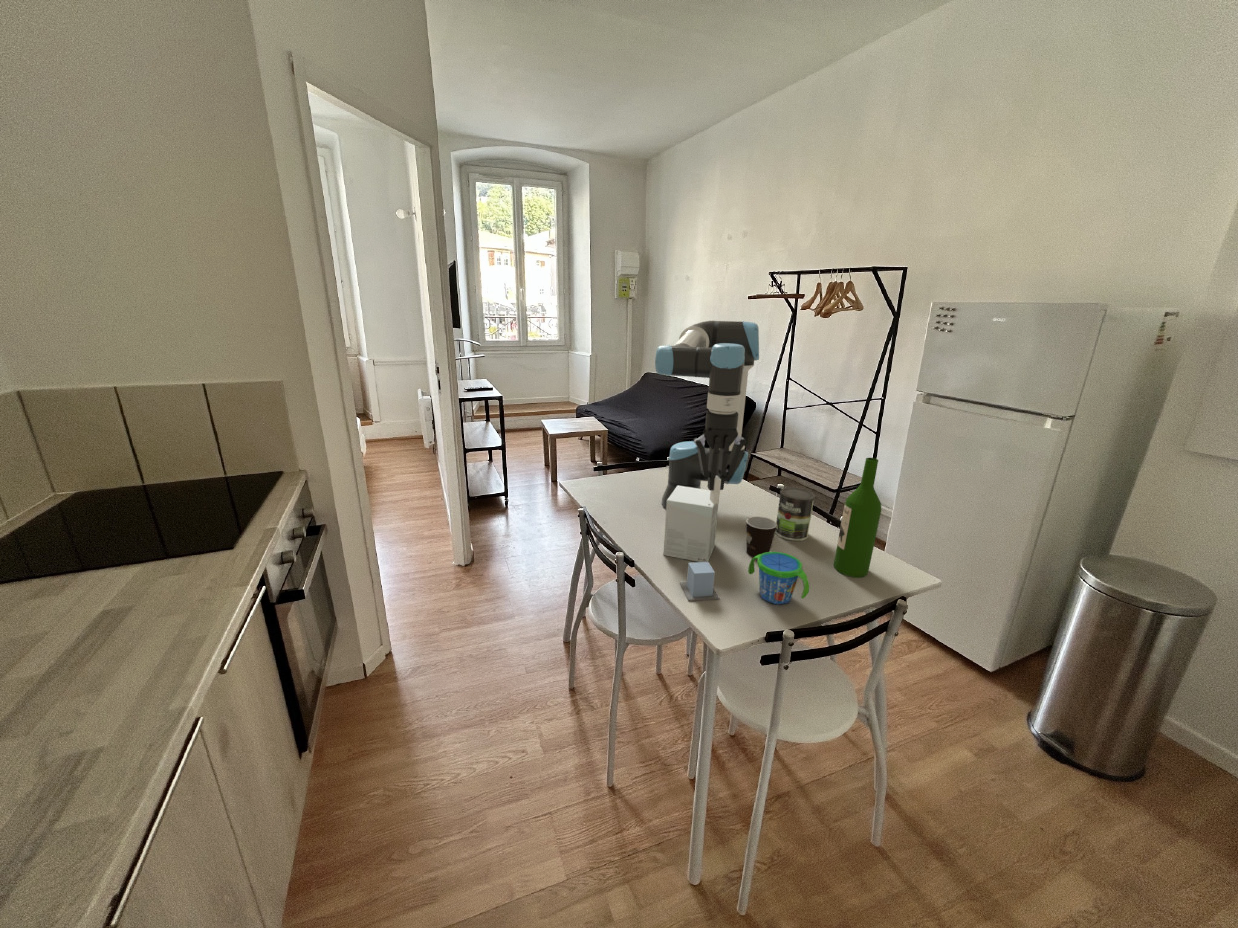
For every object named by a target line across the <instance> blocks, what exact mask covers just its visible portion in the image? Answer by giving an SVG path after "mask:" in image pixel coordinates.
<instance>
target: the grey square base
mask: <svg viewBox="0 0 1238 928" xmlns="http://www.w3.org/2000/svg"><path fill="white" fill-rule="evenodd" d="M679 585H680V586H681V589H682V591H683V594H684V596H685V597H686V600H687V602H695V601H697V602H698V601H711V600H715V601H716V600H720V596H719V594H718V592H717V591H716V590H715V588H714V587H713V596H698V597H692V595H691V593H690V591H689V589H688V587H687V581H683V582H681V581H680V582H679Z"/></svg>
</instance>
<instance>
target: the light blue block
mask: <svg viewBox="0 0 1238 928" xmlns="http://www.w3.org/2000/svg"><path fill="white" fill-rule="evenodd" d="M687 564H688V565H687V567H688V568H687V576H686V577H687V578H686V582H687V587H688V589H689V591H690V593H691V595H692V597H698V596H713V588H714V586H715V585H714V584H715V574H716V573H715V571H714V568H713V567H712V566H711V564H710V563H709V561H708V562H698V561H695V562H688V563H687Z"/></svg>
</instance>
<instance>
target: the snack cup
mask: <svg viewBox="0 0 1238 928" xmlns="http://www.w3.org/2000/svg"><path fill="white" fill-rule="evenodd" d="M751 558H752V559H751V560H750V562H749V564H748V568H747V572H748V575H753V574H754V573H755V571H756V570H755V569H756V568H755V561H757V567H758V579H759V580H758V584H759V593H760V597H761V599H763V600H765V601H766V602H769V603H772V604H774V605H783V604H788V603H789V602H791V599H792V597H793V594H794V590H795V588H796V585H797V583H798V580H799V578H800V580H802V585H803V591H802V593H801V596H800V598H801V599H804V598H806V597H807V596H808V594H809V591H810V582H809V579H808V576H807V574H806V572H805V571H804V570H803V563H802V562H801V561H800V560H799V558H797V557H795V556H794V555H791V554H788V553H785V552H780V551H770V552H766V553H763V554H759V555H757V556H755V557H754V558H753V557H751Z"/></svg>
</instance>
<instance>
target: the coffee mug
mask: <svg viewBox="0 0 1238 928" xmlns="http://www.w3.org/2000/svg"><path fill="white" fill-rule="evenodd" d="M745 522H746V523H745V526H746V529H745V530H746V541H745V542H746V543H745V544H746V554H747V555H748V556H749V557H751V558H754V557H755V556H757V555H759V554H763V553H766V552H771V549H772V545H773V540H774V536H775V534H776V533H775V531H776V527H777V523H776V521H775V520H774V519H771V518H768V517H765V516H756V515H755V516H749V517H747V519H746V520H745Z"/></svg>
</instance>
